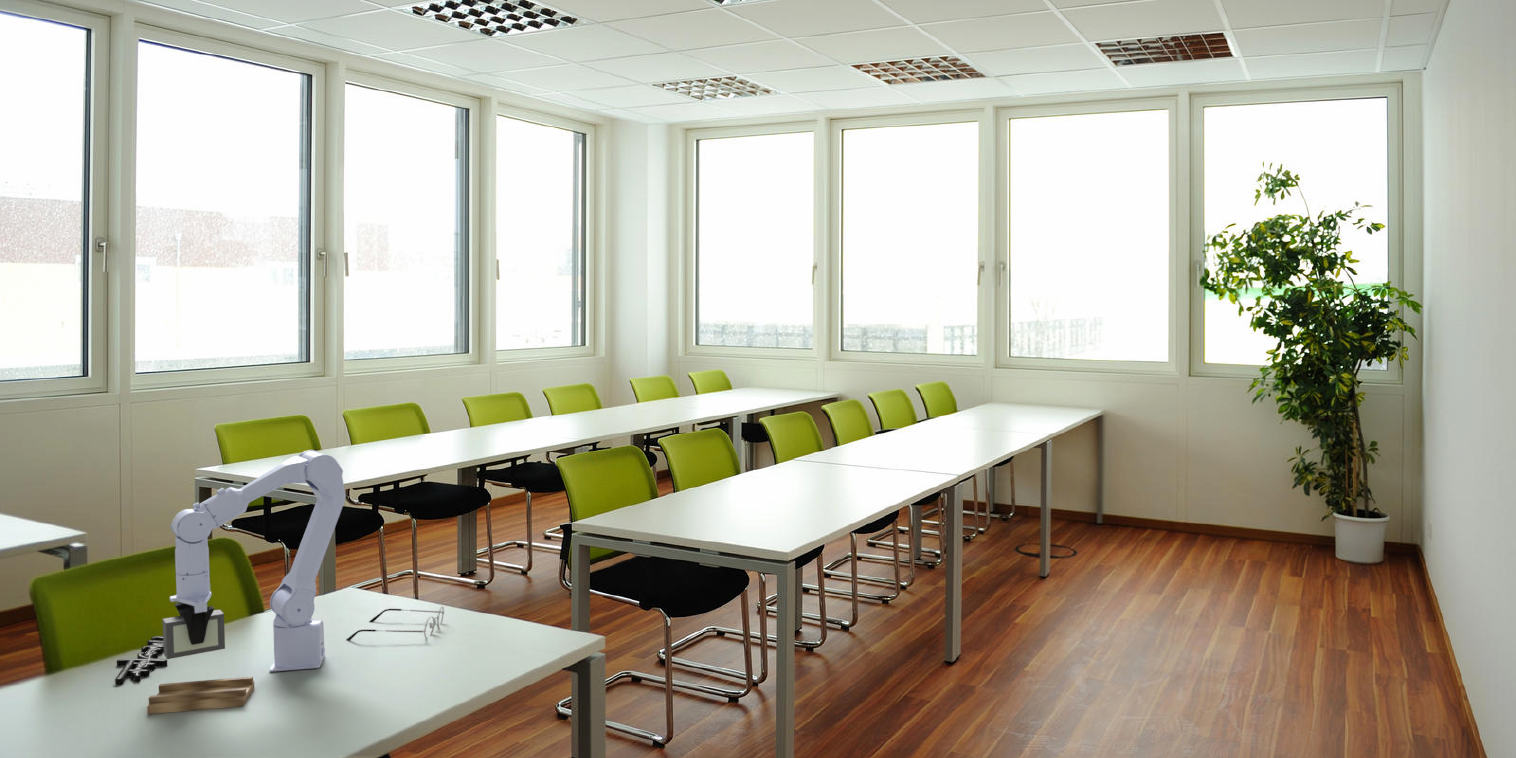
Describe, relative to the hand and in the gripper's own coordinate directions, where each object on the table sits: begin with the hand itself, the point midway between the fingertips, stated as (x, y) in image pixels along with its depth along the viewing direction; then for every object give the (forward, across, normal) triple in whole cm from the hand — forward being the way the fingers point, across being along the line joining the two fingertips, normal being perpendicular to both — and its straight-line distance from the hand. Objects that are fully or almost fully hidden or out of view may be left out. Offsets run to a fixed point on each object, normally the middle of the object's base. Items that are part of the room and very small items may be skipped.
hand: (195, 640), depth 201 cm
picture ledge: (+9, +10, -1) cm, 13 cm away
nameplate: (+9, -22, -6) cm, 24 cm away
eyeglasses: (+10, -9, +43) cm, 45 cm away
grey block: (+2, 0, 0) cm, 2 cm away
